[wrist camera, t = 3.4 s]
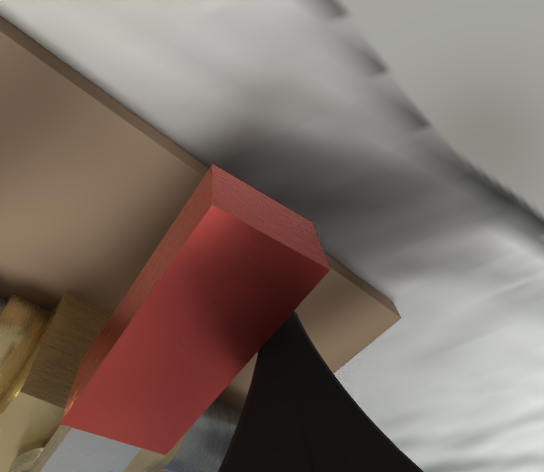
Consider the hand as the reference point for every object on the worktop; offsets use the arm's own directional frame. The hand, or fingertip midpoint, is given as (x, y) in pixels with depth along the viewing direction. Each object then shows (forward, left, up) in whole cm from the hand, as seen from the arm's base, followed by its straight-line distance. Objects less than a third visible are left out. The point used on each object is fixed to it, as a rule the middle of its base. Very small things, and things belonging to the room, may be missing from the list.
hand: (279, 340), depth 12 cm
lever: (+2, +3, 0) cm, 4 cm away
